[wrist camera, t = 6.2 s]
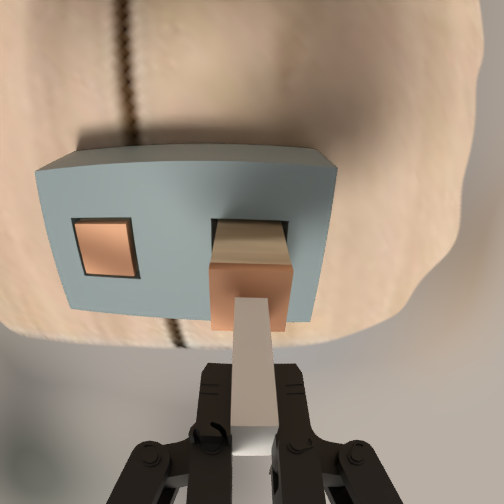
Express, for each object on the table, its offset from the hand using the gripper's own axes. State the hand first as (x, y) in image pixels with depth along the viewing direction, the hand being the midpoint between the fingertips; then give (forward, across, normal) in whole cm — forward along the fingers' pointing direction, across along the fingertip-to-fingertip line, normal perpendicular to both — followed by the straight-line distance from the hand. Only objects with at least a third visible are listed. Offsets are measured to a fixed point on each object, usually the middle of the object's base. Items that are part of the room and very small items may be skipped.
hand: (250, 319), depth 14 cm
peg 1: (+12, -10, 0) cm, 16 cm away
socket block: (+12, -5, 0) cm, 13 cm away
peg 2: (+7, 0, 0) cm, 7 cm away
